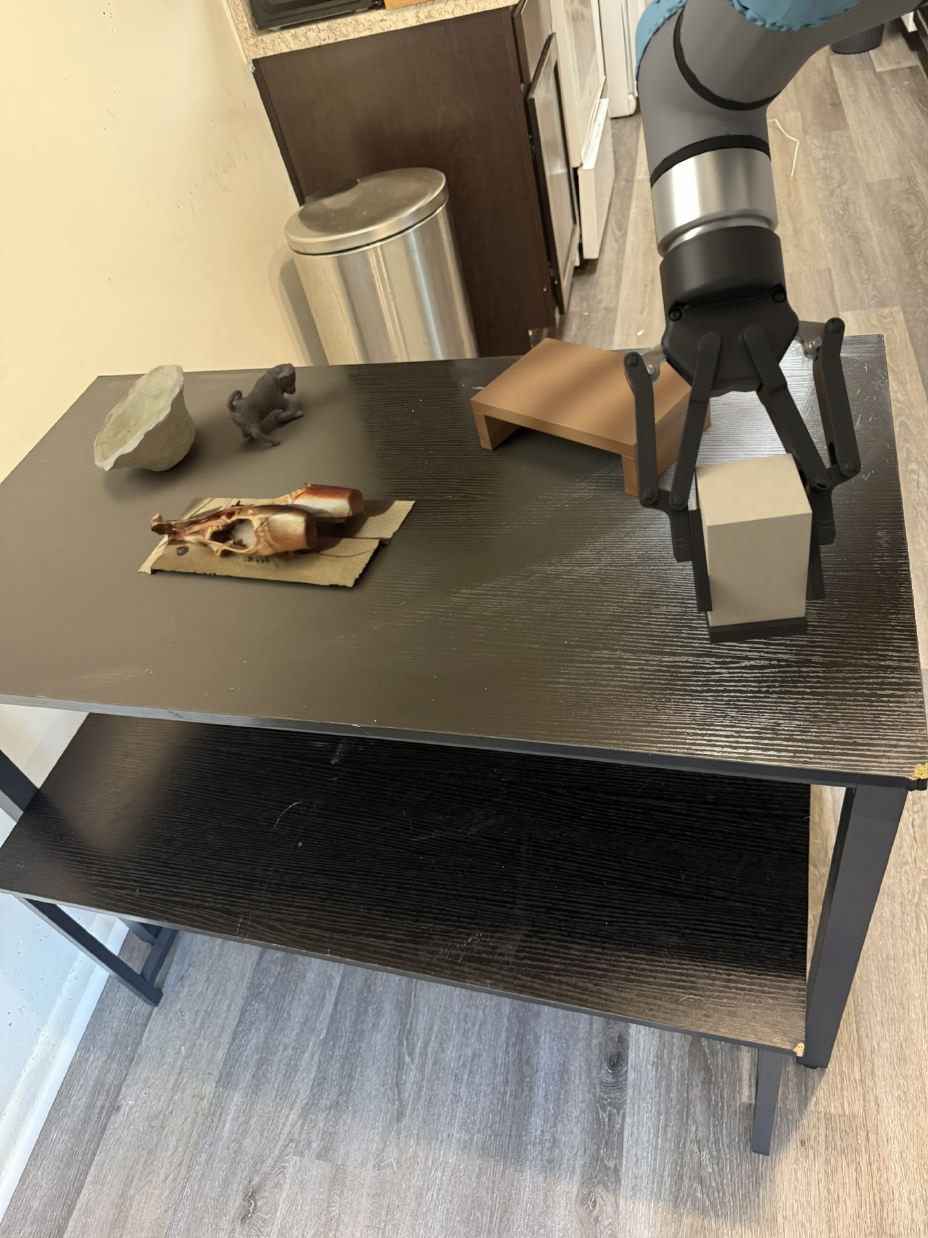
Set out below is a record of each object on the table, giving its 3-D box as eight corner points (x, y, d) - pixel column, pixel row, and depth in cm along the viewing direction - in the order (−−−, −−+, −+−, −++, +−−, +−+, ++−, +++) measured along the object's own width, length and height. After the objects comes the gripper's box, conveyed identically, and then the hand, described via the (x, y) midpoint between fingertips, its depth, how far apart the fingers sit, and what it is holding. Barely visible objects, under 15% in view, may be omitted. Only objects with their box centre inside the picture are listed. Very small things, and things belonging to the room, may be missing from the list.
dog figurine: (269, 454, 102) (244, 400, 97) (233, 449, 105) (207, 396, 100) (324, 398, 109) (304, 344, 104) (289, 394, 111) (267, 342, 106)
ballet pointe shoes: (349, 543, 76) (98, 537, 86) (372, 595, 81) (131, 584, 91) (398, 447, 85) (164, 451, 94) (416, 499, 89) (191, 498, 99)
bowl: (112, 448, 112) (71, 380, 105) (215, 414, 112) (181, 343, 105) (105, 513, 101) (59, 441, 94) (220, 475, 101) (182, 401, 94)
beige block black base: (807, 634, 57) (816, 517, 50) (710, 644, 58) (706, 531, 51) (775, 528, 65) (779, 413, 58) (690, 538, 66) (684, 428, 59)
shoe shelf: (711, 424, 87) (709, 371, 83) (638, 497, 82) (633, 444, 78) (554, 385, 99) (546, 337, 95) (481, 447, 93) (469, 399, 89)
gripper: (861, 241, 57) (901, 589, 57) (573, 295, 61) (611, 621, 61) (893, 187, 50) (940, 586, 50) (564, 252, 54) (607, 623, 53)
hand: (759, 605), depth 55 cm, fingers closed on beige block black base, 6 cm apart
